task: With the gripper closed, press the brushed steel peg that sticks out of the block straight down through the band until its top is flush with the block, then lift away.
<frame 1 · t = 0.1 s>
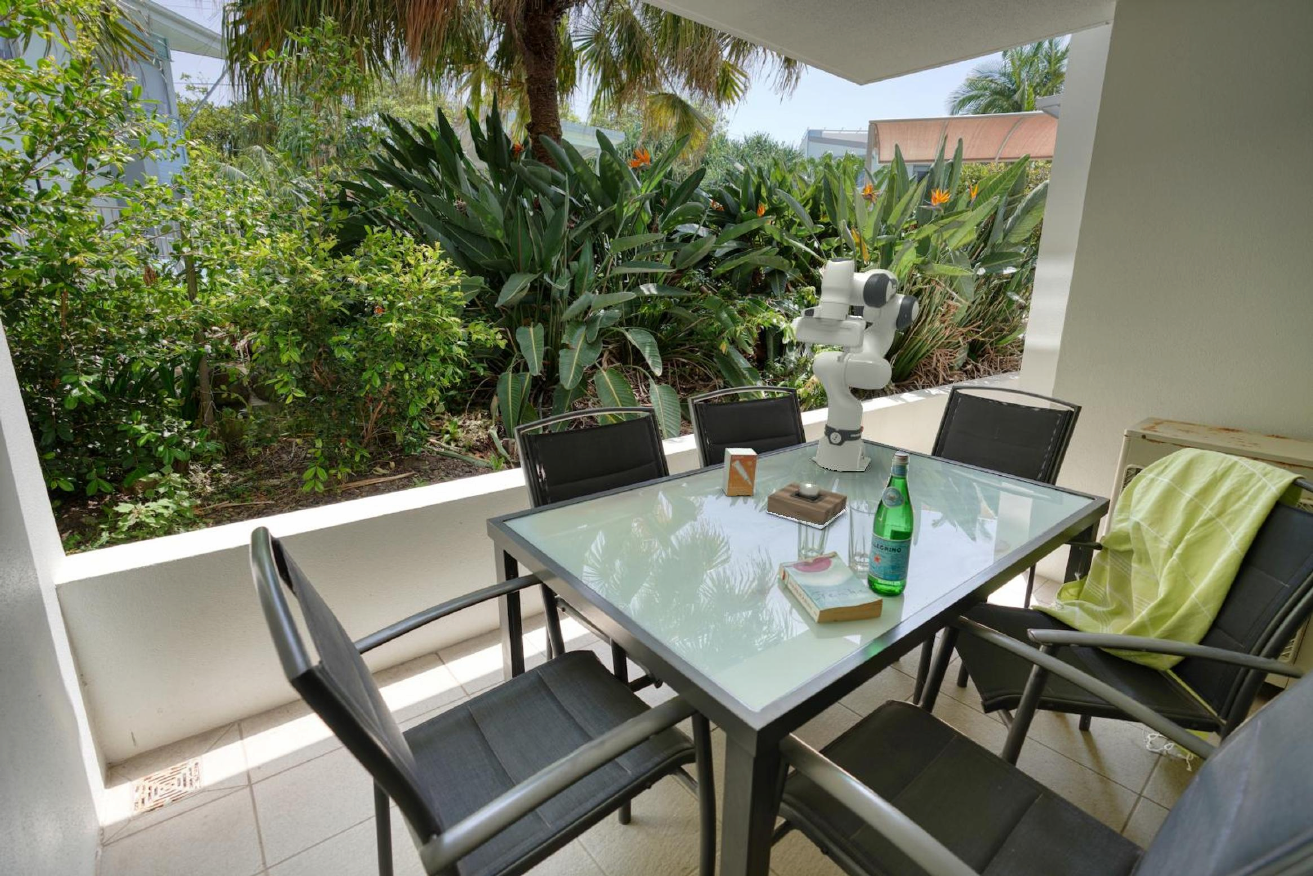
hand: (824, 360, 185), 39 cm above the table, tool pointing down, fingers open, 8 cm apart
socket block: (806, 512, 170), on the table
small box: (737, 493, 183), on the table
peg: (808, 491, 169), point 6 cm above the table, slide at 3.5 cm
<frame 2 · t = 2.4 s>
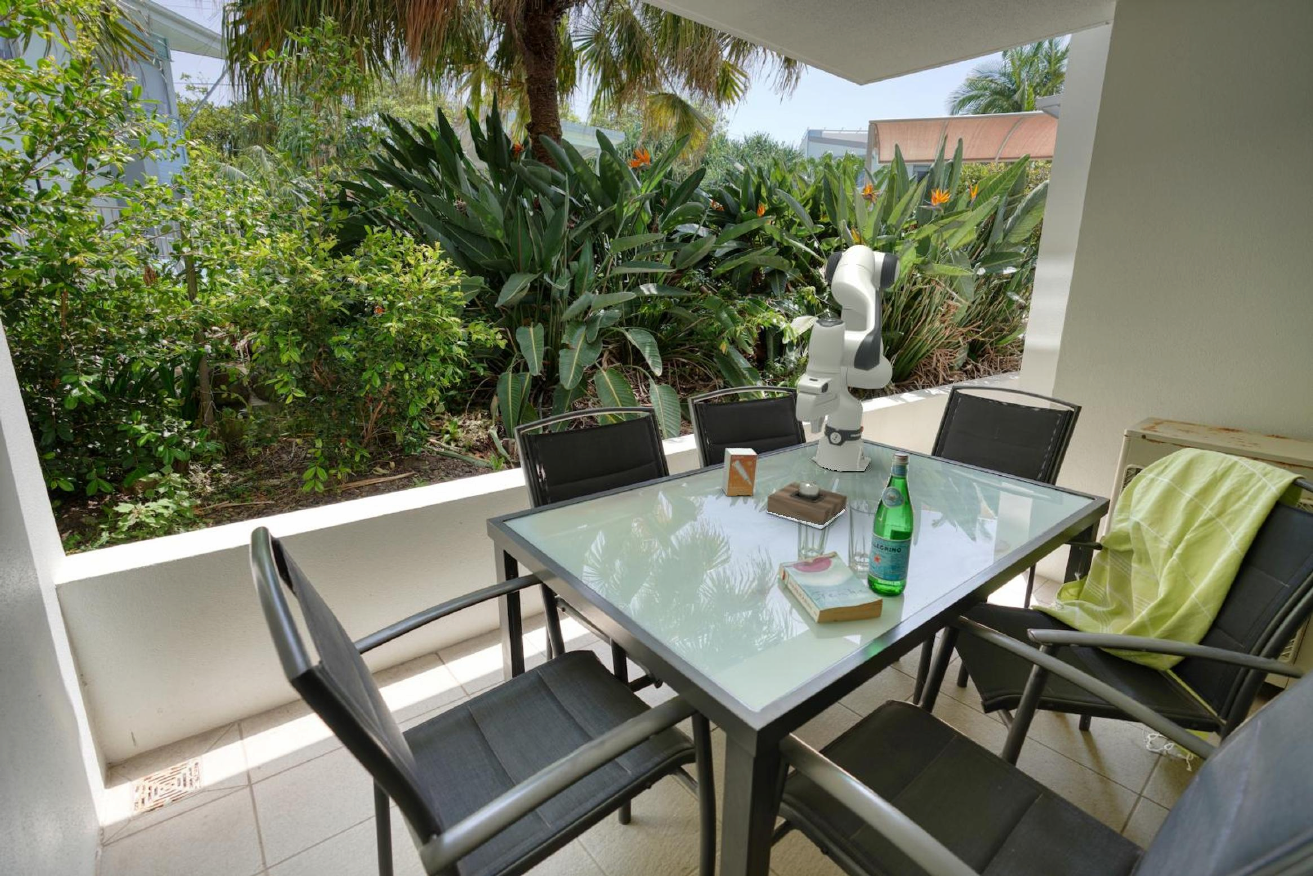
hand: (815, 432, 164), 23 cm above the table, tool pointing down, fingers closed
nothing on the table moved.
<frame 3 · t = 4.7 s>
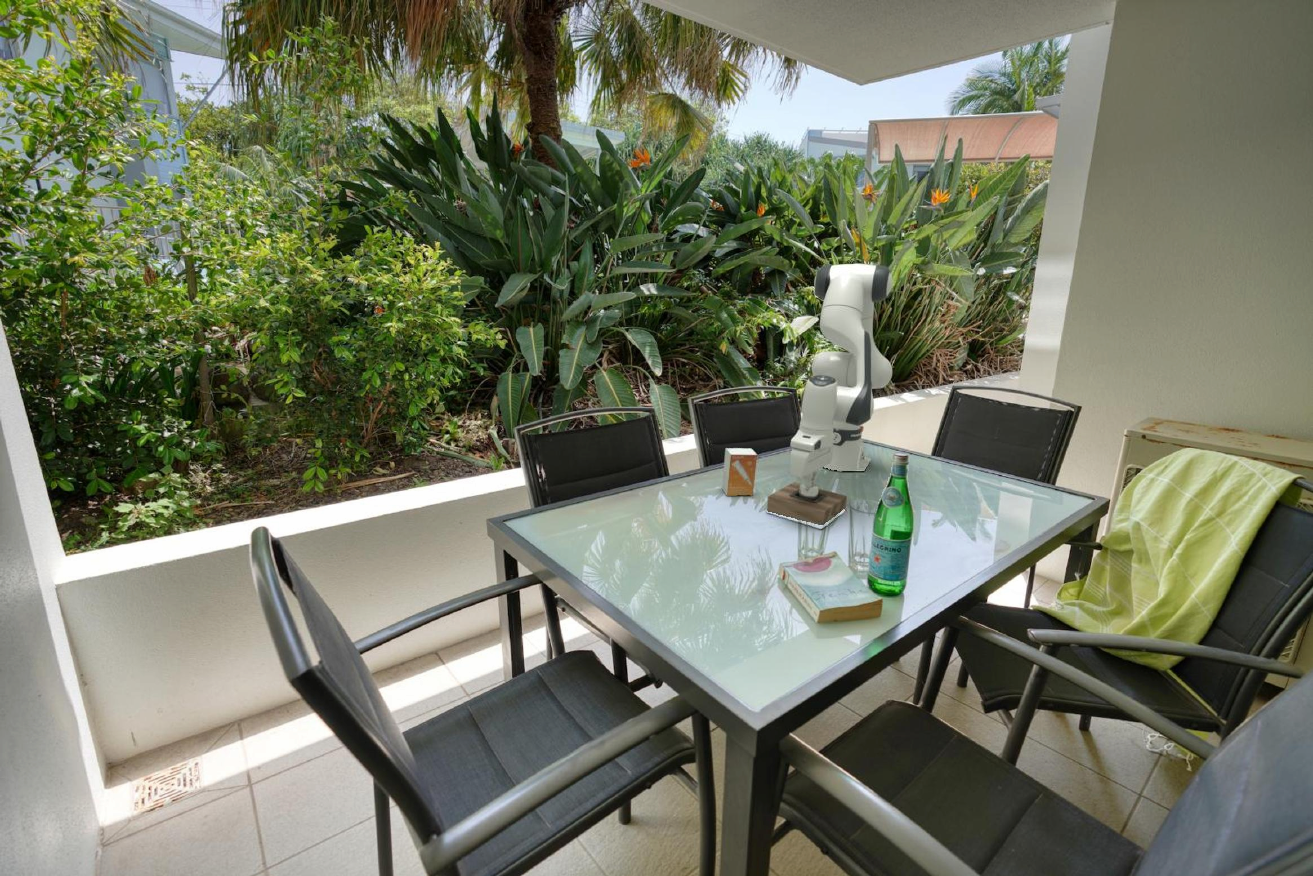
hand: (809, 485, 168), 8 cm above the table, tool pointing down, fingers closed, pressing on peg
peg: (808, 493, 169), point 6 cm above the table, slide at 2.9 cm, touching gripper
everything else where it was.
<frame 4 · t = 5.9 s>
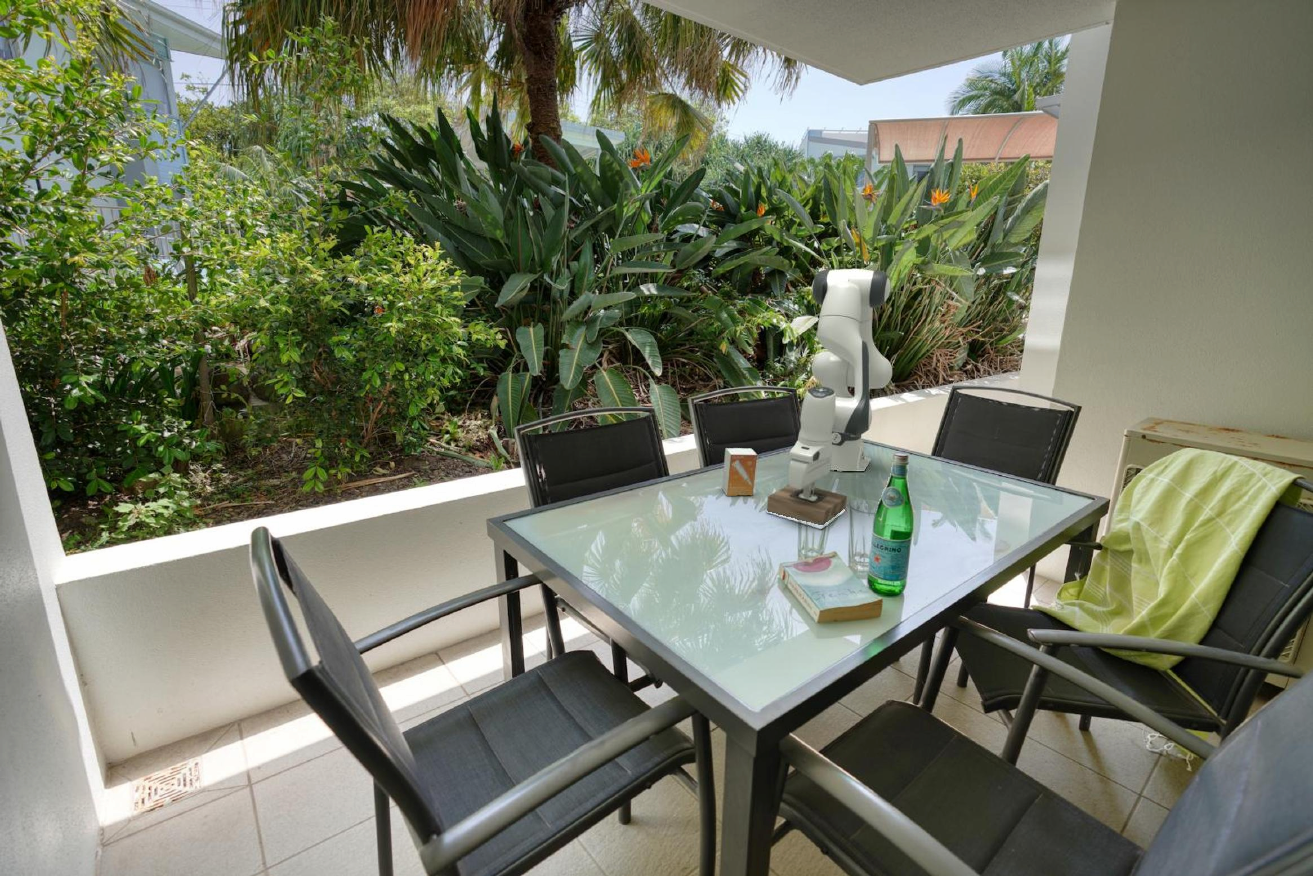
hand: (808, 496, 169), 5 cm above the table, tool pointing down, fingers closed, pressing on peg
peg: (807, 503, 170), point 3 cm above the table, slide at -0.1 cm, touching gripper
everything else where it was.
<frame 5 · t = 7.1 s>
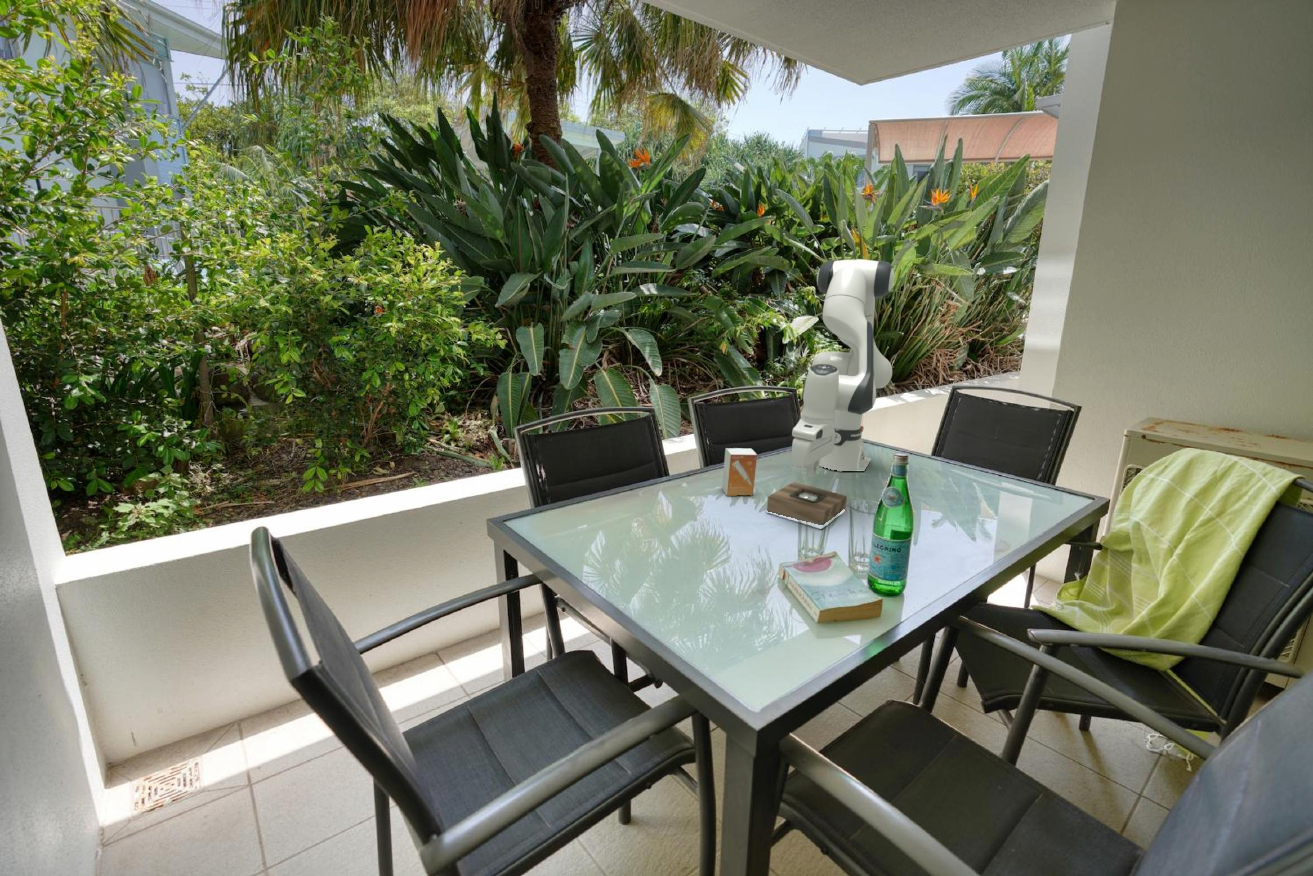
hand: (811, 475, 168), 11 cm above the table, tool pointing down, fingers closed
peg: (807, 503, 170), point 3 cm above the table, slide at -0.1 cm
everything else where it was.
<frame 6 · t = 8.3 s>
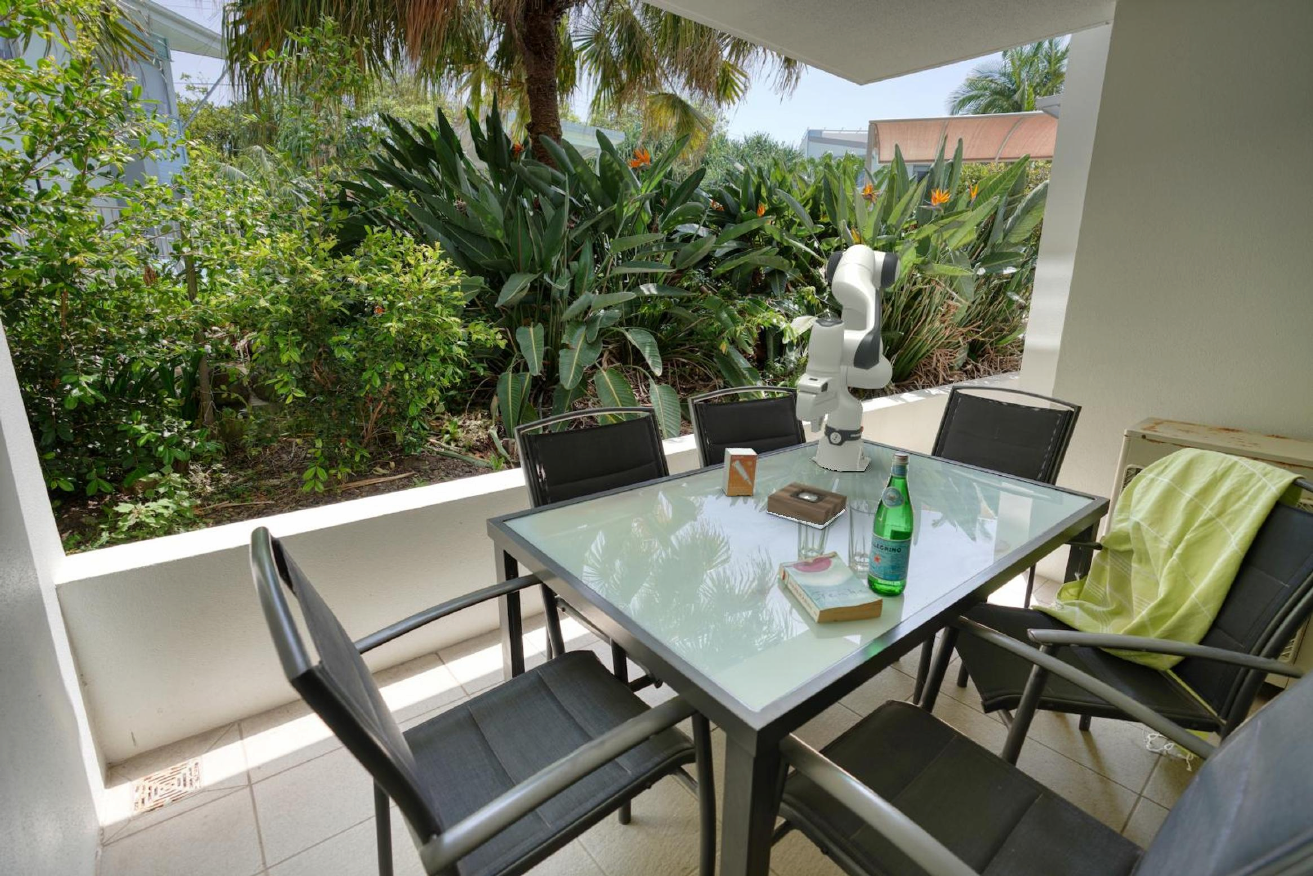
hand: (815, 431, 165), 23 cm above the table, tool pointing down, fingers closed
nothing on the table moved.
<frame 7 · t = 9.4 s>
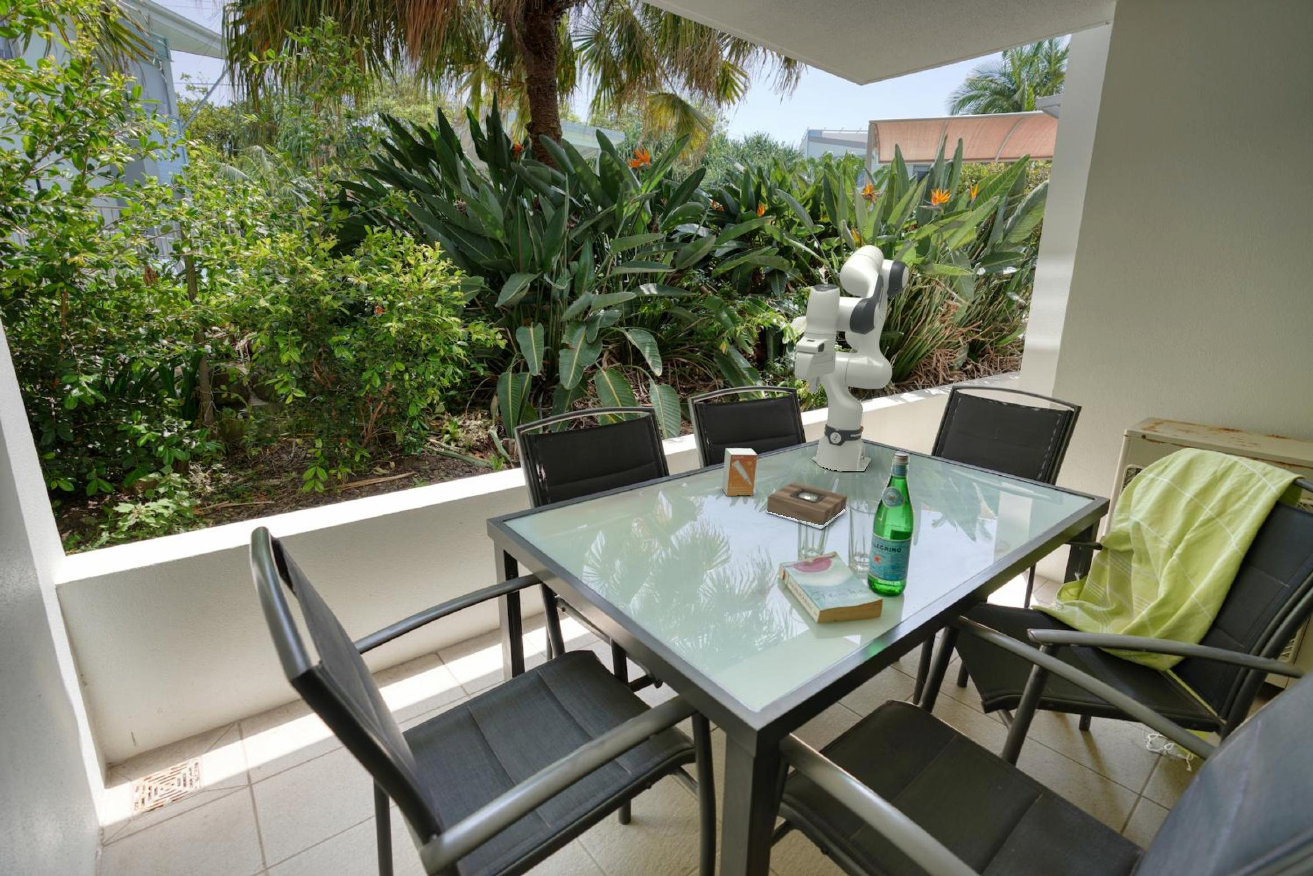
hand: (813, 391, 177), 31 cm above the table, tool pointing down, fingers closed
nothing on the table moved.
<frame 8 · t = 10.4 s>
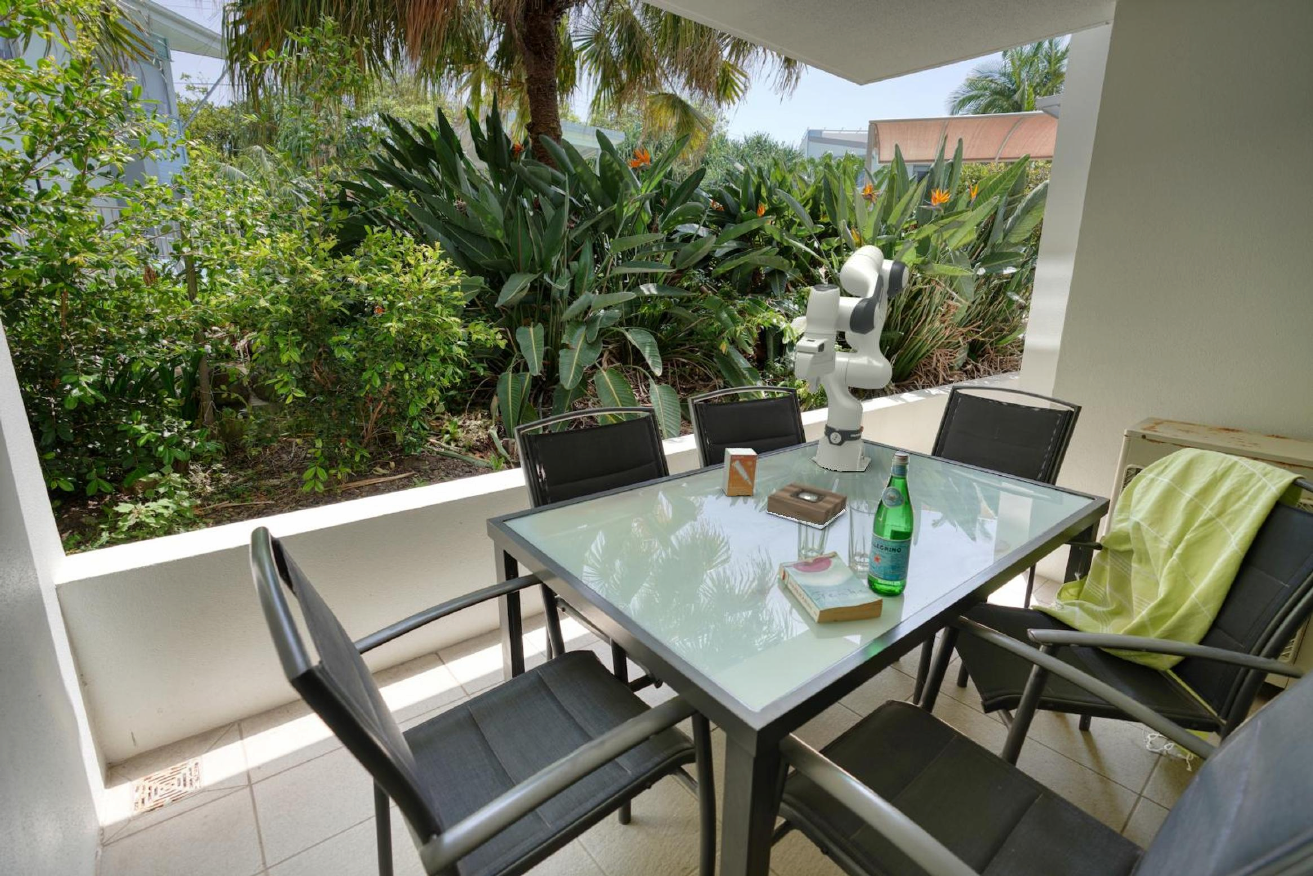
hand: (813, 391, 177), 31 cm above the table, tool pointing down, fingers closed
nothing on the table moved.
at the end: peg slide at -0.1 cm; small box moved 0.2 cm from its start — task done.
